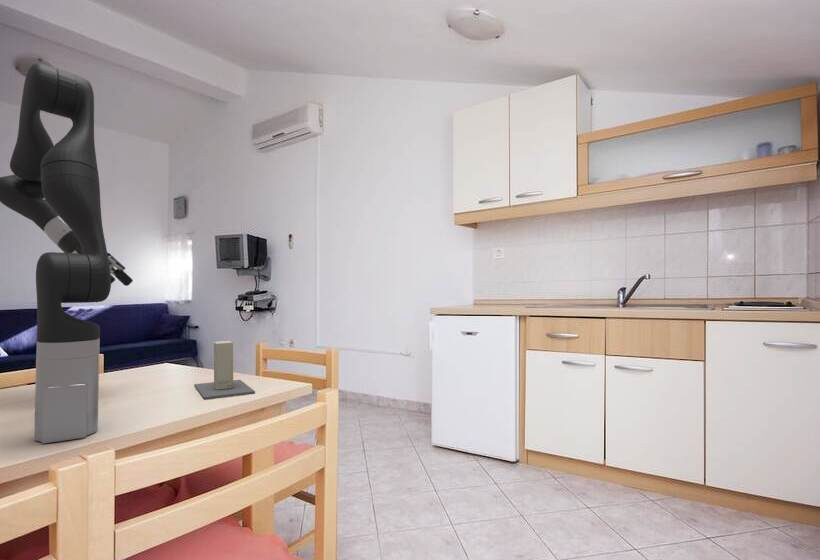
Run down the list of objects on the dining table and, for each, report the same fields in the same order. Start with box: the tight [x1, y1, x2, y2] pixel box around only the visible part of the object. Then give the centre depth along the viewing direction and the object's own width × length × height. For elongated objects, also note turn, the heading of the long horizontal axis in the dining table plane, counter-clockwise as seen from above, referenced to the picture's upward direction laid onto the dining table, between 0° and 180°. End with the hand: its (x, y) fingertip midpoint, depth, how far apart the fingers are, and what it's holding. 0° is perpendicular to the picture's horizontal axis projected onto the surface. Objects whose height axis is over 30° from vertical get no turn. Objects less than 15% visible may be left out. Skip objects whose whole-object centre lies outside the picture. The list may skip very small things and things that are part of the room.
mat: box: [193, 379, 256, 401], centre depth 118 cm, size 18×12×1 cm, turn 33°
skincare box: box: [213, 340, 234, 390], centre depth 118 cm, size 6×4×12 cm
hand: (121, 283), depth 110 cm, fingers open, 8 cm apart
